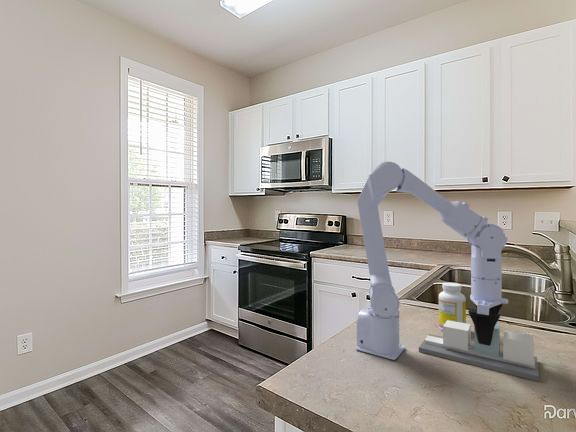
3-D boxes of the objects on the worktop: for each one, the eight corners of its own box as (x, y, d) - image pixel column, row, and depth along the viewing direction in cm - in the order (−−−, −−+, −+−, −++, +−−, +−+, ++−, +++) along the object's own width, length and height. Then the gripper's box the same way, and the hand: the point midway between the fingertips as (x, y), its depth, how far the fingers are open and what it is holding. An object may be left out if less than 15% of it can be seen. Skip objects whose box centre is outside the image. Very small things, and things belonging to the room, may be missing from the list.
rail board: (418, 351, 73) (418, 325, 73) (428, 337, 81) (428, 313, 81) (539, 381, 60) (539, 349, 60) (536, 361, 68) (536, 332, 68)
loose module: (474, 351, 69) (474, 324, 69) (476, 345, 72) (476, 319, 72) (498, 357, 66) (498, 329, 66) (500, 350, 69) (500, 323, 69)
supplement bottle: (457, 325, 89) (456, 281, 89) (471, 335, 83) (471, 286, 82) (434, 326, 89) (434, 281, 89) (446, 335, 82) (446, 287, 82)
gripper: (506, 286, 61) (506, 355, 61) (509, 274, 72) (509, 332, 73) (465, 281, 65) (465, 346, 65) (474, 270, 77) (474, 325, 77)
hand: (486, 338), depth 69 cm, fingers open, 7 cm apart
